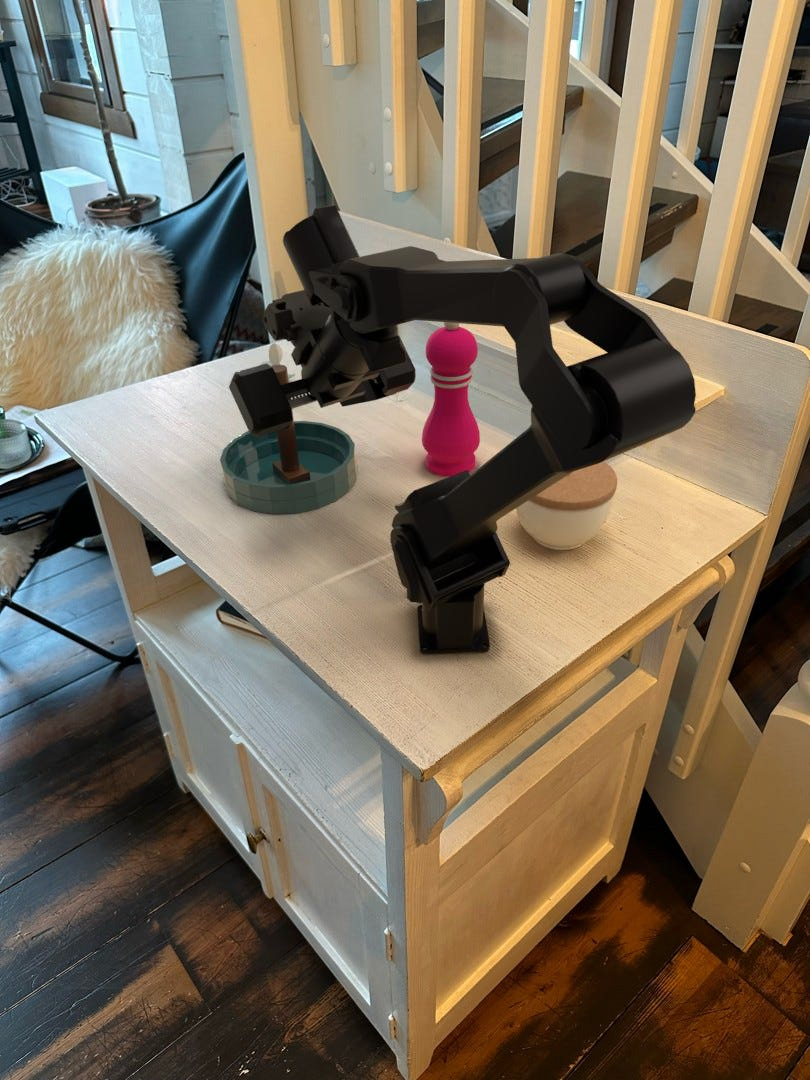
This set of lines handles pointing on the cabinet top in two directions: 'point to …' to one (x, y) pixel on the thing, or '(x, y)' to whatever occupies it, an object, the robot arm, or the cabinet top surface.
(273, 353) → the pacifier
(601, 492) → the trinket box
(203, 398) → the cabinet top surface
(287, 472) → the brown wooden post
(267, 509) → the bowl
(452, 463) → the pepper mill
